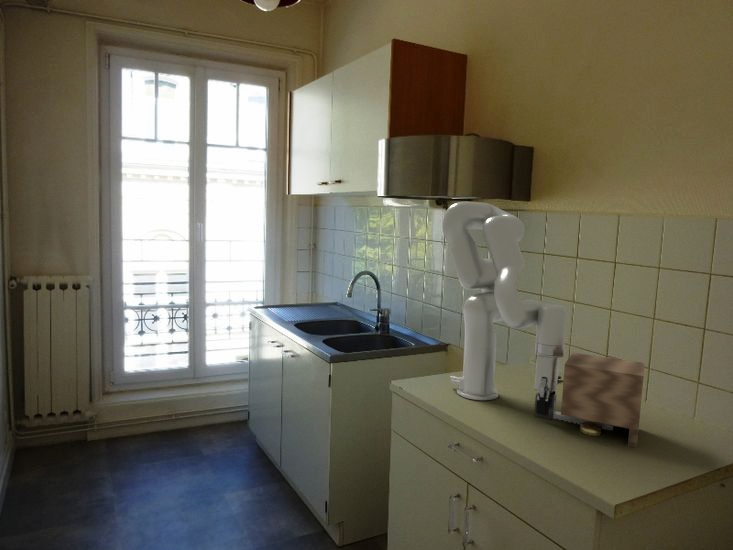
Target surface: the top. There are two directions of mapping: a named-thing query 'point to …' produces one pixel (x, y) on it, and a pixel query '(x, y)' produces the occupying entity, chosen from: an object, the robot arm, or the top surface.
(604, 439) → the top surface
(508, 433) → the top surface
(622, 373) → the cabinet
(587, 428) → the token
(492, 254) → the robot arm
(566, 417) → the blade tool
